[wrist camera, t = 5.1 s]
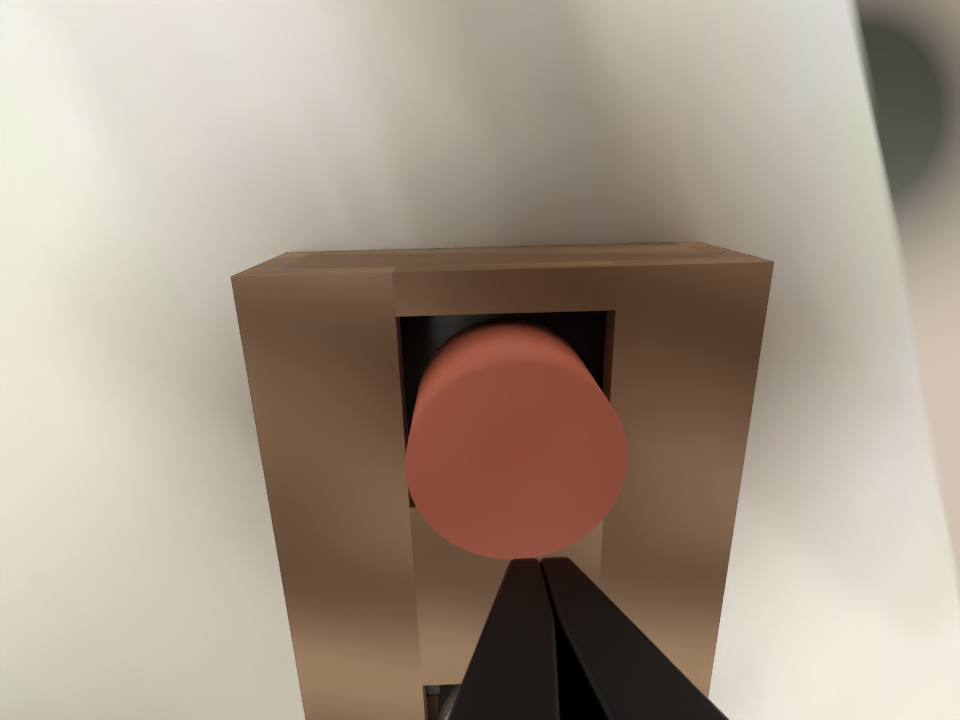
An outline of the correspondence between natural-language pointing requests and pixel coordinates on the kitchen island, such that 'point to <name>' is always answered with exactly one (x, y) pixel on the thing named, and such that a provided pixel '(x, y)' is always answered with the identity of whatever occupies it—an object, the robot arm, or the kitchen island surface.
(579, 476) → the pink round plug
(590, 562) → the press box
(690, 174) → the kitchen island surface
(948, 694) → the kitchen island surface
